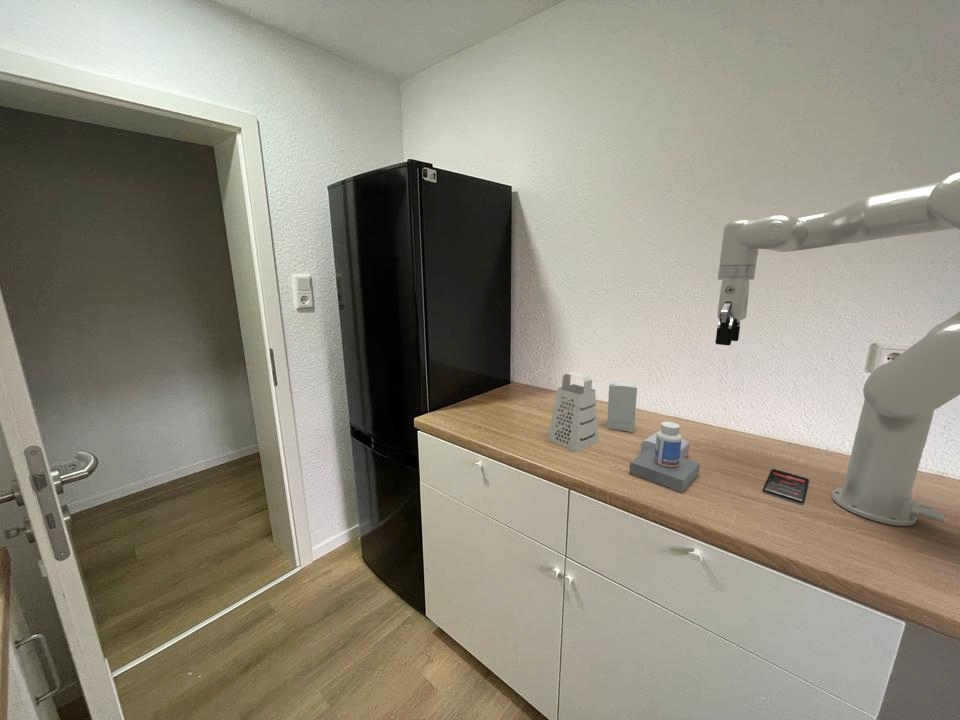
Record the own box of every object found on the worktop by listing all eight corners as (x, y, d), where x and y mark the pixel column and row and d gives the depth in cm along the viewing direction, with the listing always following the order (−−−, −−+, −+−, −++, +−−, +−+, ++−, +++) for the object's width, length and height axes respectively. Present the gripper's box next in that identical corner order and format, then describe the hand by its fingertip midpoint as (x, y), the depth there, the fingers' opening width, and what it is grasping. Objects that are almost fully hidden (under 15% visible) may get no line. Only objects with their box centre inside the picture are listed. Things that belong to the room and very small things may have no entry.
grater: (576, 451, 105) (581, 381, 101) (547, 439, 113) (550, 373, 109) (598, 442, 111) (604, 375, 107) (569, 430, 119) (573, 368, 115)
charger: (694, 450, 108) (676, 467, 97) (661, 440, 114) (640, 456, 103) (697, 434, 107) (678, 450, 96) (662, 425, 113) (641, 439, 103)
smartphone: (809, 479, 92) (803, 504, 81) (808, 481, 92) (803, 507, 81) (771, 468, 97) (761, 491, 86) (771, 471, 97) (761, 494, 86)
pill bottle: (683, 464, 92) (688, 426, 90) (670, 470, 89) (675, 430, 87) (662, 455, 97) (666, 419, 95) (649, 460, 94) (653, 423, 92)
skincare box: (634, 426, 124) (638, 382, 121) (633, 433, 118) (638, 387, 115) (607, 422, 127) (611, 379, 124) (605, 428, 121) (609, 383, 118)
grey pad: (698, 474, 94) (700, 463, 93) (681, 492, 85) (683, 480, 85) (648, 458, 102) (649, 447, 101) (629, 473, 93) (630, 462, 93)
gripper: (748, 272, 85) (738, 348, 89) (759, 274, 98) (750, 340, 101) (710, 273, 90) (701, 344, 94) (725, 274, 103) (717, 337, 106)
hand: (726, 342), depth 97 cm, fingers open, 9 cm apart
